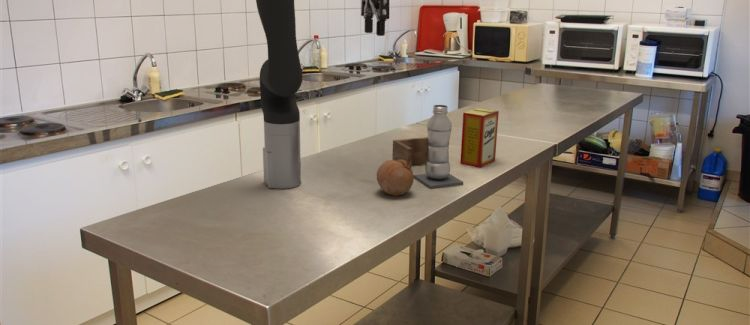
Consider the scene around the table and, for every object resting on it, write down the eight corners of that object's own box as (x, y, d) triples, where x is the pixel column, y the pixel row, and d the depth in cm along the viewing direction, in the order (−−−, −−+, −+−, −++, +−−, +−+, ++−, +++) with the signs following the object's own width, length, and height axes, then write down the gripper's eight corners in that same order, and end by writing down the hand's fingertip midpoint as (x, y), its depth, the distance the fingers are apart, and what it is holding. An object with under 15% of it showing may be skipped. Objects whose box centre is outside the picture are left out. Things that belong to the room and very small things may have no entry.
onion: (408, 203, 161) (426, 170, 158) (391, 204, 153) (410, 169, 150) (380, 183, 165) (398, 151, 163) (363, 183, 157) (381, 149, 154)
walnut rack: (407, 176, 172) (408, 148, 170) (392, 166, 181) (392, 140, 179) (446, 172, 177) (447, 145, 175) (429, 162, 186) (431, 136, 184)
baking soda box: (479, 168, 181) (483, 114, 177) (460, 163, 185) (463, 111, 181) (494, 161, 189) (498, 109, 184) (476, 157, 192) (479, 106, 188)
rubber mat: (430, 188, 163) (430, 185, 162) (413, 177, 171) (413, 175, 171) (463, 184, 166) (463, 181, 166) (445, 174, 175) (445, 171, 175)
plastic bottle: (448, 182, 165) (452, 109, 159) (423, 180, 166) (426, 107, 161) (450, 175, 171) (454, 104, 166) (426, 173, 172) (429, 103, 167)
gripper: (352, -28, 170) (352, 32, 174) (372, -28, 157) (371, 36, 162) (378, -28, 173) (377, 31, 177) (399, -28, 160) (397, 36, 165)
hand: (374, 34), depth 169 cm, fingers open, 8 cm apart
